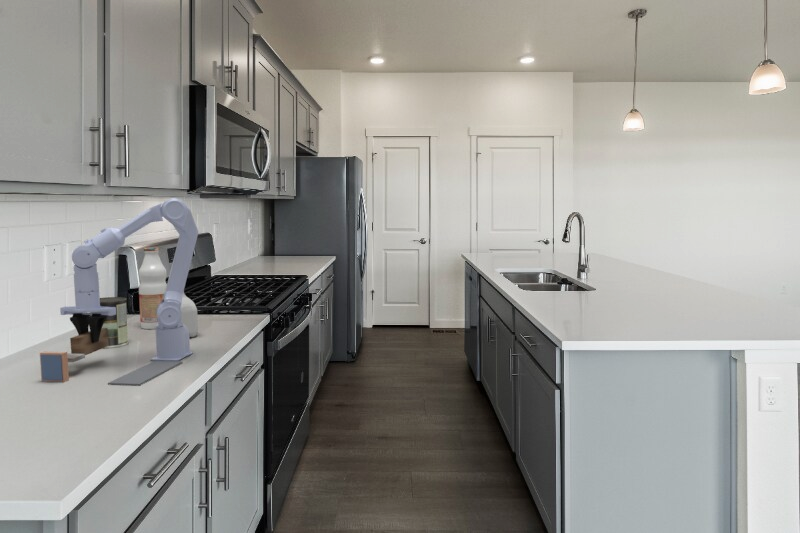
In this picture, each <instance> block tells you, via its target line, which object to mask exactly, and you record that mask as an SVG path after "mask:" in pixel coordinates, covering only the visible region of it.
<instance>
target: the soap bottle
mask: <svg viewBox="0 0 800 533" xmlns="http://www.w3.org/2000/svg"><path fill="white" fill-rule="evenodd" d="M181 313H182V318H181V322H183V324H184V325H185V326H186V327H187V328H188V330H189V338H194V337H196V336H197V335H198V334H199V323H198V308H197V306H196V304H195V302H194V301H193V300H192V299H191V298H190V297H188V296H187V295H186V294H185V290H184V291H183V296H182V303H181Z"/></svg>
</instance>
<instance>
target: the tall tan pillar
mask: <svg viewBox="0 0 800 533" xmlns="http://www.w3.org/2000/svg"><path fill="white" fill-rule="evenodd" d="M69 340H70V353H68V352H67V357H68V363H76V362H79V361H81V360H83V359H85V358H86V356H87V355H90V354H92V353H95V352H97V351H101V350H102V349H106V348H105V347H107V346H109V343H108V329H107V328H102V329H101V332H100V337H99V341H98V342H95V343H92V341H91V334H90V330H89V332H86V333H83V334H80V335H79V334H78V335H75V336H72V337H70V338H69Z"/></svg>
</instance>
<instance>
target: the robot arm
mask: <svg viewBox="0 0 800 533" xmlns="http://www.w3.org/2000/svg"><path fill="white" fill-rule="evenodd" d="M163 218H164V219H165V220H167V222H169V223H170V224H172V226H173V227H174V229H175V230H176V232H177V233H178V234H179V236H178V239H177V245H176V246H175V247H176V249H175V252H174V255H173V256H174V257H173V260H172V265H171V268H170V271H169V276H168V280H167V282H166V283H167V287H166V290H165V293H164V296H163V299H162V301H161V303H160V304H159V305H158V306H157V309H156V314H157V320H158V324H157V325H155V327H156V329H155V344H156V348H155V349H156V355H155V356H153V357H152V358H150V361H180V360H182V359H184V358H187V357H188V356H190V355H192V354H193V351H191V350H190V349H191V346H190V345H191V344H190V337H189V330H188V328H187V327H186V326H185V325H184V324H183V322H181V318H182V313H181V303H182V296H183V291H184V292H185V287H186V283H187V278H188V276H189V272H190V271H189V270H190V267H191V264H192V260H193V255H194V252H195V248H196V243H197V239H198V236H199V230H198V227H197V225H196V222H195V219H194V217H193V214H192V211H191V209H190V208H189V207H188V205H187V204H186V203H185V202H184V200H182V199H180V198H168V199H166V200H164V202H163V203H162V202H160V203H157V204H156V205H152V206H151V207H149V208H146V210H144V211H142V212H141V213H140V214H138V215H136V216H135V217H133V218H131V219H130V220H129V221H127V222H126V223H124V224H122V225H121V226H120V227H108V228H105V227H104V228H102V229H100V233H99V234H97V235H95V236H93V237H92V238H90V239H86V240H84V244H81V245H78V246H77V247H76V248H75V249H74V250H73V252H72V254H71V260H72V262H73V264H74V265H73V272H74V274H73V285H74V298H75V299H74V303H75V306H63V307H60V309H59V310H60V315H61V316H65V315H72V316H71V317H69V321H70V323H71V324H72V325H73V327H74V328H75V330H76V332H77V333H78V335H80V334H83V333H86V332H89V331H90V334H91V341H92V343H95V342H98V341H99V337H100V332H101V329H102V326H103V324H104V322H105V320H106V318H107V315H109V316H112V315H116V307H104V306H100V298H101V297H100V282H99V280H100V278H99V272H98V265H97V262H98V261H99V259H104V258H107V256H108V255H111V254H112V253H114V252H115V251H117V250H119V249H120V248H121V247H123V246H124V245H125V242H126V238H128V237H129V236H131V235H133V234H134V233H137V231H140V230H141V229H142V228H145V226H148V225H149V224H151V223H155V222H156V223H157V222H158V223H159V222H163V221H164V219H163ZM90 312H93V313H90ZM90 315H92V316H90Z"/></svg>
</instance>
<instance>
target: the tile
mask: <svg viewBox="0 0 800 533" xmlns="http://www.w3.org/2000/svg"><path fill="white" fill-rule="evenodd" d="M67 353H68V351H49V350H48V351H41V352H39V362H40V376H41V382H48V383H49V382H51V383H52V382H55V383H58V382H59V383H65V381H66V382H68V381H69V380H70V377H69V374H70V373H69V362H68V357H67ZM67 380H68V381H67Z"/></svg>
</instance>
